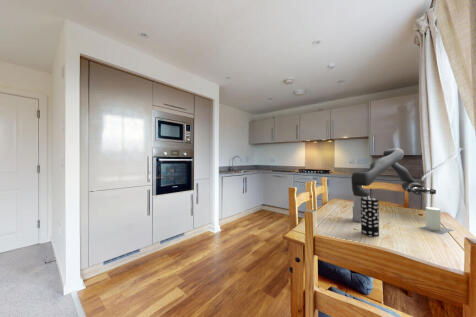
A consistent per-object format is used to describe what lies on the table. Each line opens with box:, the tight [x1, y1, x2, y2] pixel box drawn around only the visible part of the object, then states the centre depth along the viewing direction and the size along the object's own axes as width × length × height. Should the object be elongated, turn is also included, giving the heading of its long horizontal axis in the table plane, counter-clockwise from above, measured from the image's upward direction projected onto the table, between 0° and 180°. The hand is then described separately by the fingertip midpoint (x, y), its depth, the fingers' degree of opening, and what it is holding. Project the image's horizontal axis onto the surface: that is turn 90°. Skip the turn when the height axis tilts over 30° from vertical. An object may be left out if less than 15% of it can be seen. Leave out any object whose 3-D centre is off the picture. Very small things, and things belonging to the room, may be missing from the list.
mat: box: [419, 225, 454, 235], centre depth 113 cm, size 14×10×1 cm
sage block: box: [425, 206, 442, 231], centre depth 114 cm, size 5×5×12 cm
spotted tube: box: [360, 196, 380, 238], centre depth 109 cm, size 8×8×20 cm
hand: (423, 192), depth 125 cm, fingers open, 8 cm apart
